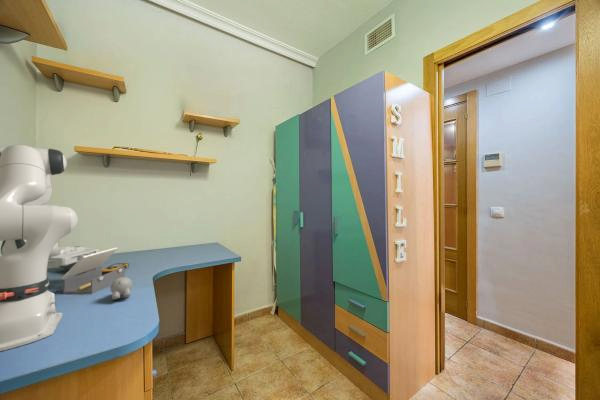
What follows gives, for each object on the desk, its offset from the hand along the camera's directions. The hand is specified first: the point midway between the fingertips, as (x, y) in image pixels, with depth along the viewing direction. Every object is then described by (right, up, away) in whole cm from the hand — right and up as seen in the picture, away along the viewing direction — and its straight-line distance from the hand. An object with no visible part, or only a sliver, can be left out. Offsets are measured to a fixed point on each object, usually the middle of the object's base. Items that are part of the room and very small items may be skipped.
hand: (94, 256), depth 111 cm
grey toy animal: (+23, -14, -13) cm, 30 cm away
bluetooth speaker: (-29, -14, +22) cm, 39 cm away
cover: (-1, -3, 0) cm, 3 cm away
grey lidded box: (+1, -14, 0) cm, 14 cm away
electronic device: (-9, -14, +22) cm, 28 cm away
